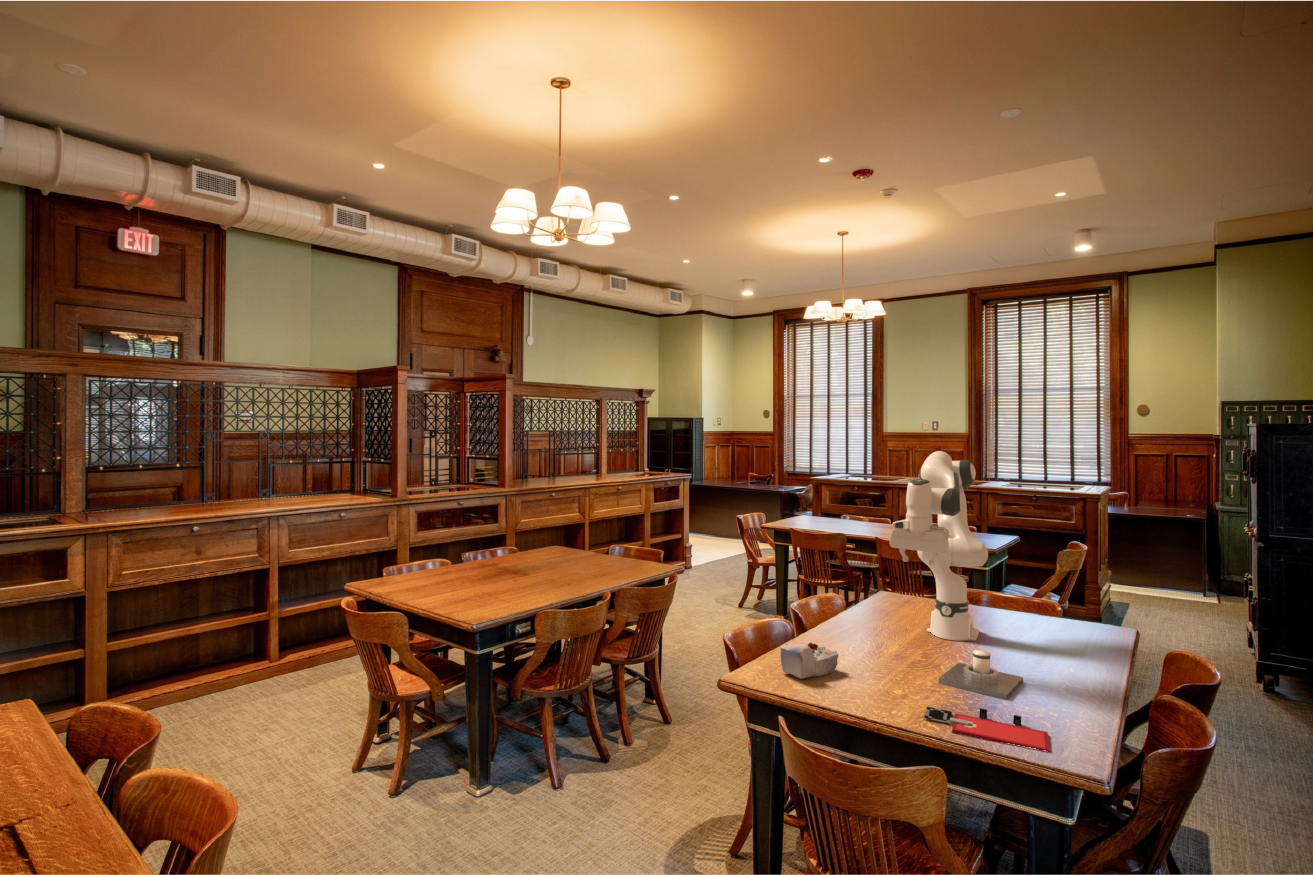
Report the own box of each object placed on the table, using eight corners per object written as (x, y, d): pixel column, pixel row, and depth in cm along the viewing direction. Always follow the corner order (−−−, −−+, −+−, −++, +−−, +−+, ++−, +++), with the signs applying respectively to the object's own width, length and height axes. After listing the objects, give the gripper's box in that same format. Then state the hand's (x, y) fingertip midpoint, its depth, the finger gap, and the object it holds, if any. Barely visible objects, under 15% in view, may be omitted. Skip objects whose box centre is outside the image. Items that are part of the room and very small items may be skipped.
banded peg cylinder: (975, 673, 216) (975, 649, 217) (992, 677, 213) (992, 652, 213) (970, 677, 213) (970, 652, 213) (987, 681, 209) (987, 656, 209)
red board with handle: (927, 707, 193) (922, 728, 180) (928, 697, 193) (922, 717, 179) (1046, 731, 179) (1049, 755, 165) (1046, 721, 178) (1049, 744, 165)
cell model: (775, 641, 219) (811, 631, 232) (775, 673, 219) (810, 662, 232) (808, 650, 209) (843, 639, 222) (807, 684, 209) (843, 671, 222)
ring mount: (958, 666, 227) (958, 655, 227) (1023, 681, 213) (1023, 669, 213) (938, 682, 212) (938, 670, 212) (1006, 699, 198) (1006, 686, 198)
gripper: (952, 526, 231) (951, 565, 231) (894, 521, 245) (894, 558, 245) (945, 528, 227) (945, 568, 227) (888, 522, 240) (887, 560, 240)
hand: (918, 563), depth 236 cm, fingers open, 8 cm apart
